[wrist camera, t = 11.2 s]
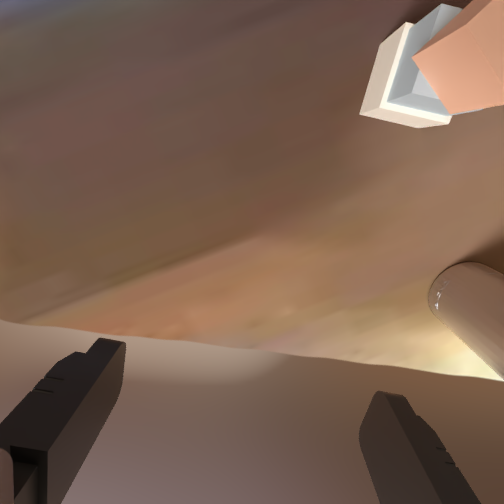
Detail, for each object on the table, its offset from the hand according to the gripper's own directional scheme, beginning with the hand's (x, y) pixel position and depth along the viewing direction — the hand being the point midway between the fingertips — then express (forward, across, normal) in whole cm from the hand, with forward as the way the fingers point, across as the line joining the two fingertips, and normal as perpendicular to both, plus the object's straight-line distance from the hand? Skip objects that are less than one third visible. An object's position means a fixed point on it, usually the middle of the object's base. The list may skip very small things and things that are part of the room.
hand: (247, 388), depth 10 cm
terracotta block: (+19, -13, -17) cm, 29 cm away
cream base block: (+30, -13, -17) cm, 37 cm away
